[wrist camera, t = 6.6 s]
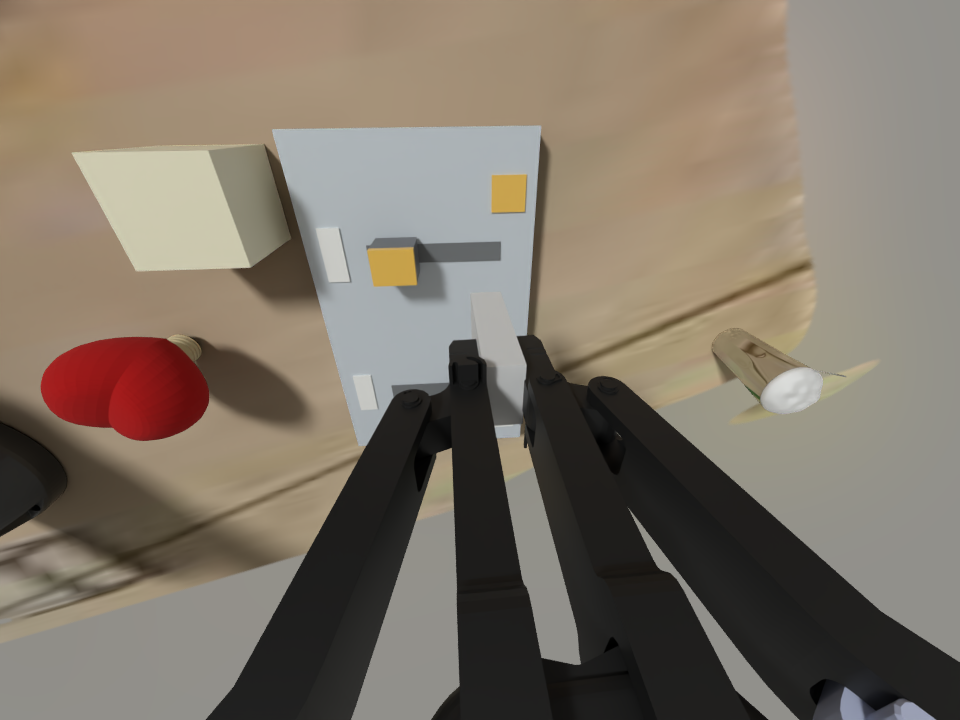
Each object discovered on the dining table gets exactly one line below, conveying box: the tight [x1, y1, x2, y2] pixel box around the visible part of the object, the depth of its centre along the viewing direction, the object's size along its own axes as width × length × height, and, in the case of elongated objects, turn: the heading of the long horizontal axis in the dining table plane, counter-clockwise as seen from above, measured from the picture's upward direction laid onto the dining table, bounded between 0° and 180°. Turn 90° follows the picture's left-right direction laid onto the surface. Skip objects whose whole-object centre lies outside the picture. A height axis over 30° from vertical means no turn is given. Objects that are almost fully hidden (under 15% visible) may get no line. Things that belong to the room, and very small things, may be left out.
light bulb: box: [41, 335, 209, 441], centre depth 28 cm, size 9×7×10 cm
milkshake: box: [712, 328, 846, 414], centre depth 32 cm, size 4×5×10 cm
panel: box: [272, 126, 541, 446], centre depth 31 cm, size 17×28×2 cm, turn 1°
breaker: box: [367, 237, 420, 287], centre depth 26 cm, size 3×2×3 cm
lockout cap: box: [72, 144, 291, 271], centre depth 23 cm, size 7×6×7 cm
